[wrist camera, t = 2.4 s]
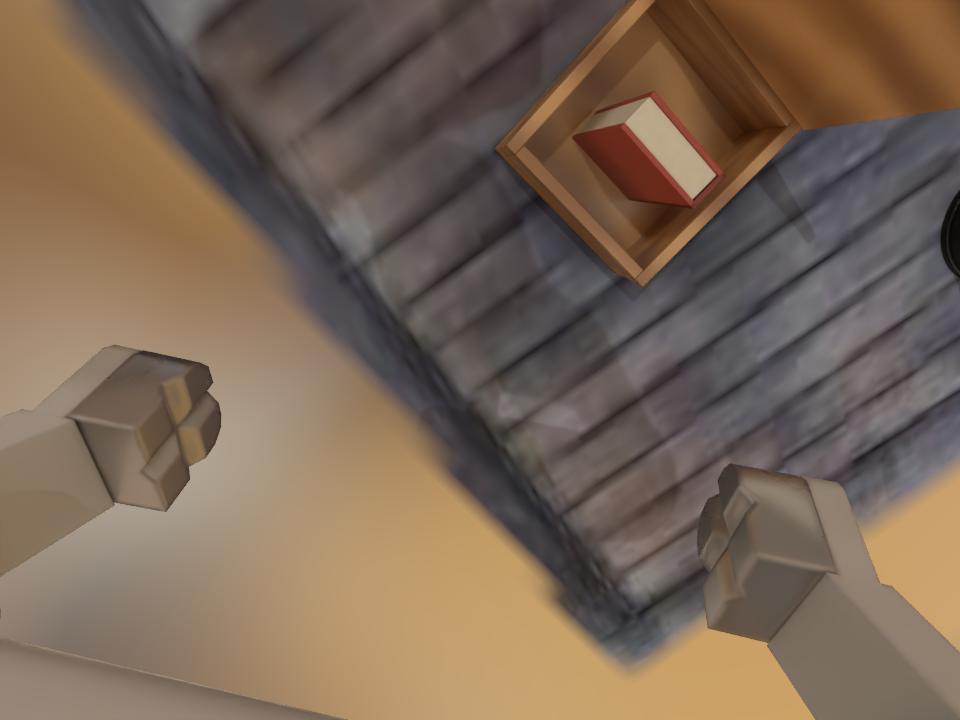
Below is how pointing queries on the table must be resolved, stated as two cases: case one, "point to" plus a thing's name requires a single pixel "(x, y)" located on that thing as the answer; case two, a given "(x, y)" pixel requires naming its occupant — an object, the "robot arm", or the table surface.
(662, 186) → the book
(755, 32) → the pine box lid
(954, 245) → the french press
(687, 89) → the pine box
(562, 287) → the table surface
